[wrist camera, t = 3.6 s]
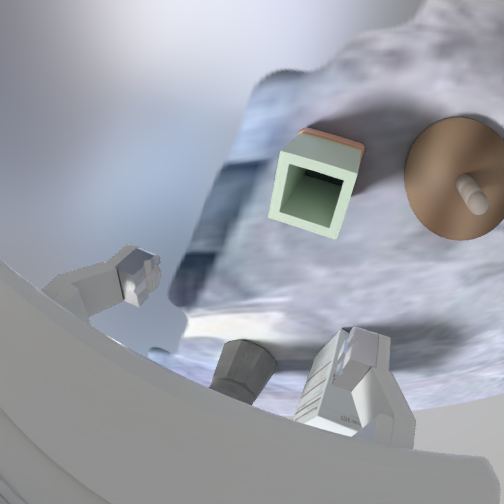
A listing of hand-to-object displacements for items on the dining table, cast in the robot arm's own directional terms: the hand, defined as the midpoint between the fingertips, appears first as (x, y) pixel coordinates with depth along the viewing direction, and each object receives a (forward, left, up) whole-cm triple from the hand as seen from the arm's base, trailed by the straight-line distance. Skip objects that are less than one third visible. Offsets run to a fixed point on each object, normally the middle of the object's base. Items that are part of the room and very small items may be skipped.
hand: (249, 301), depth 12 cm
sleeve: (0, 0, -18) cm, 18 cm away
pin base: (-12, -3, -18) cm, 22 cm away
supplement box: (-10, +23, -18) cm, 31 cm away
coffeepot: (+4, +33, -18) cm, 38 cm away
